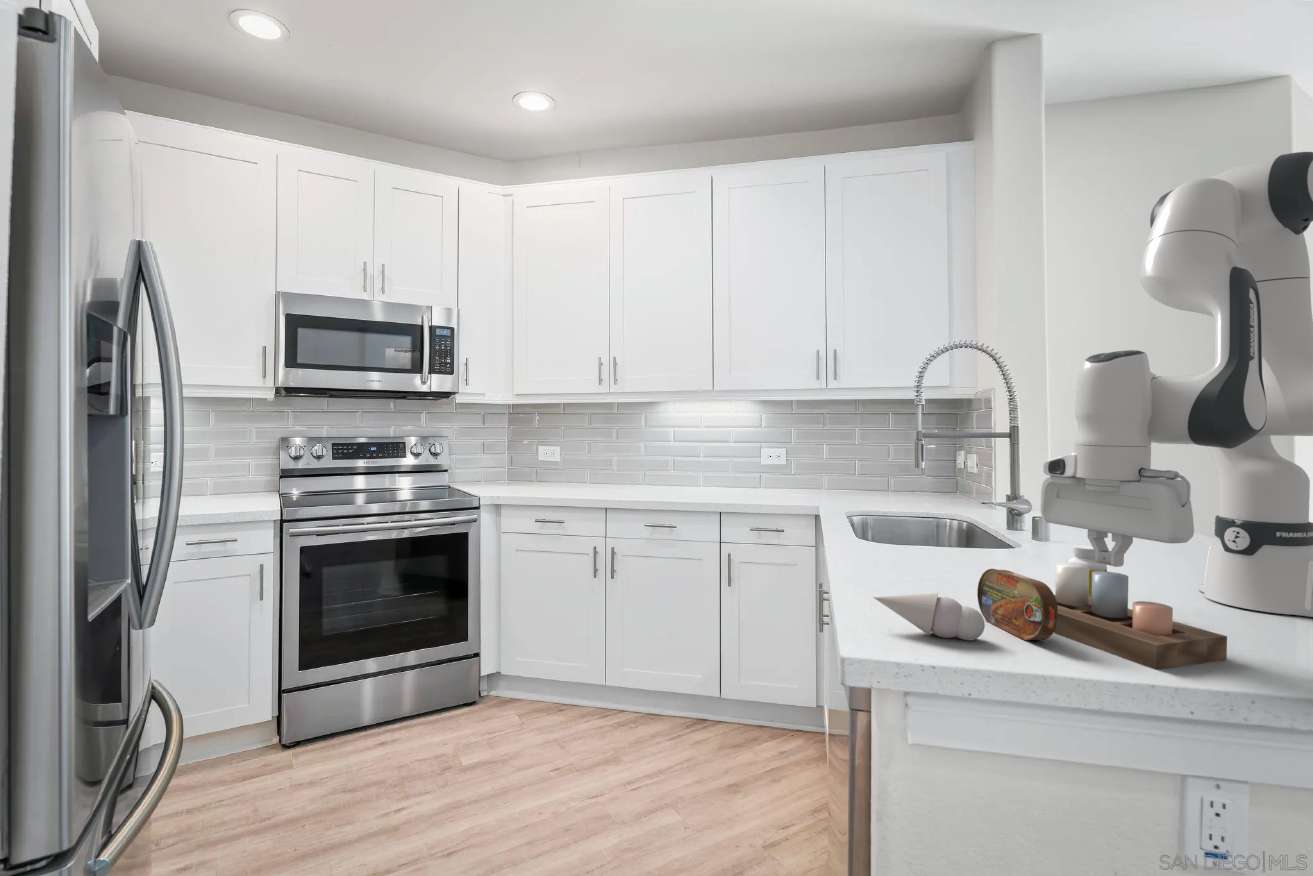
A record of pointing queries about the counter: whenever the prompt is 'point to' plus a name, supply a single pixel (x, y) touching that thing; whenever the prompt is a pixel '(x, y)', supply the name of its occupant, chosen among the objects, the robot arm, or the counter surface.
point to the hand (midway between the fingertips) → (1109, 564)
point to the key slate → (1110, 594)
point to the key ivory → (1072, 584)
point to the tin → (1017, 604)
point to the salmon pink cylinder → (1152, 618)
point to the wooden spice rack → (1140, 638)
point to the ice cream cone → (937, 615)
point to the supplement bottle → (1087, 561)
